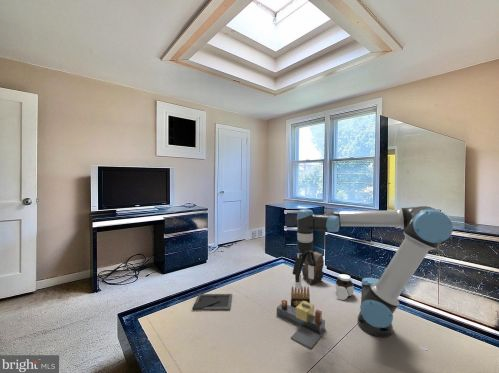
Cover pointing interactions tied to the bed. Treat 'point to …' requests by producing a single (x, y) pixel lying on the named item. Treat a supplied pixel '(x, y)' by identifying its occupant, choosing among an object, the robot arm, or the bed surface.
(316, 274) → the brown rock
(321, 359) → the bed surface
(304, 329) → the felt mat
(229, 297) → the picture frame
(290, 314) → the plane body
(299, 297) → the ammunition clip
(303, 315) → the lever cap
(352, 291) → the spread jar
